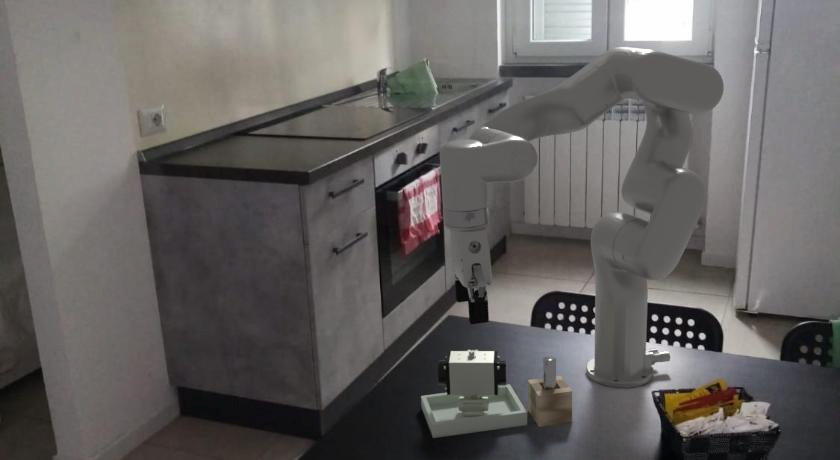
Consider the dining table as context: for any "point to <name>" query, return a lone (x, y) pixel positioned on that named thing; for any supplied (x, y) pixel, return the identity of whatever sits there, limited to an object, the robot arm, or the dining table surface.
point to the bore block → (550, 402)
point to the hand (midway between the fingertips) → (472, 311)
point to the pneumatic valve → (472, 378)
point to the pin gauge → (549, 373)
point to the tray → (450, 420)
